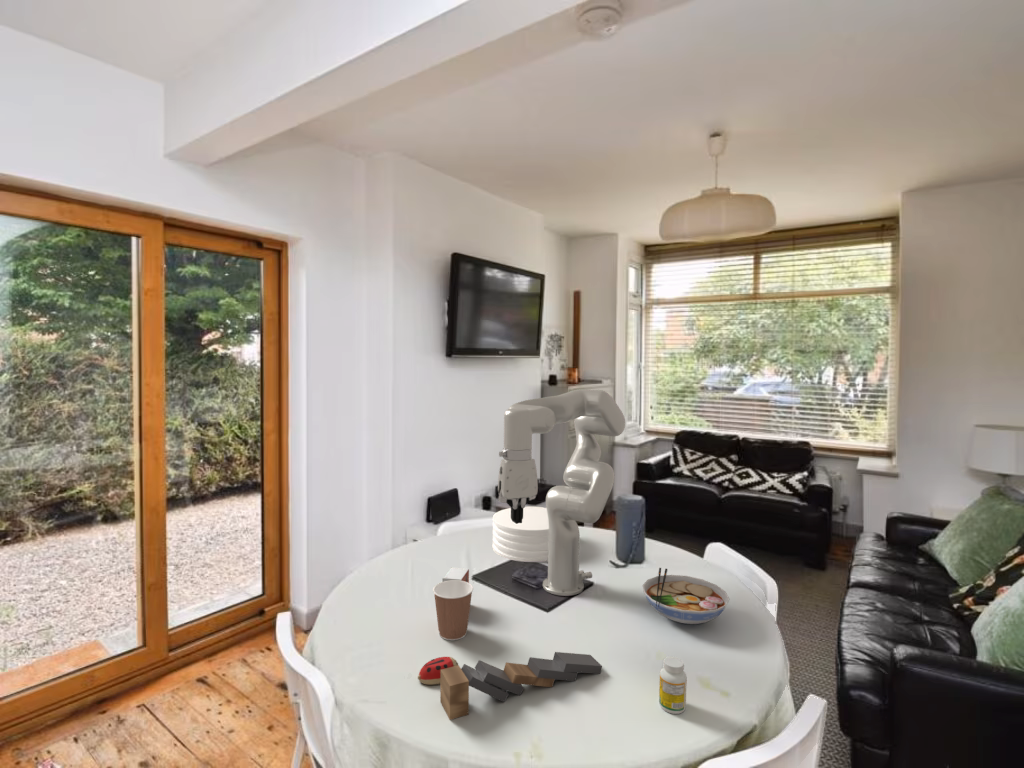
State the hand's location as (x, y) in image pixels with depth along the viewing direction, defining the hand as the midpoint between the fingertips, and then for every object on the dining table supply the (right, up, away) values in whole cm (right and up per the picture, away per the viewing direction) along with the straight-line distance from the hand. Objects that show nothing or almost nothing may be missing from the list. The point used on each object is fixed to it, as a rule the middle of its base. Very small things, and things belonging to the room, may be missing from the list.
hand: (516, 521), depth 147 cm
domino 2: (0, -28, -28) cm, 40 cm away
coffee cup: (-17, -28, -6) cm, 33 cm away
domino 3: (+7, -28, -26) cm, 39 cm away
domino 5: (+18, -28, -20) cm, 39 cm away
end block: (-13, -29, -35) cm, 48 cm away
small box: (-17, -27, +7) cm, 33 cm away
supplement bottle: (+32, -30, -34) cm, 55 cm away
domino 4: (+12, -28, -23) cm, 38 cm away
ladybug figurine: (-18, -29, -24) cm, 42 cm away
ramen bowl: (+46, -28, +4) cm, 54 cm away
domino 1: (-4, -28, -31) cm, 42 cm away
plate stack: (+5, -24, +56) cm, 61 cm away
